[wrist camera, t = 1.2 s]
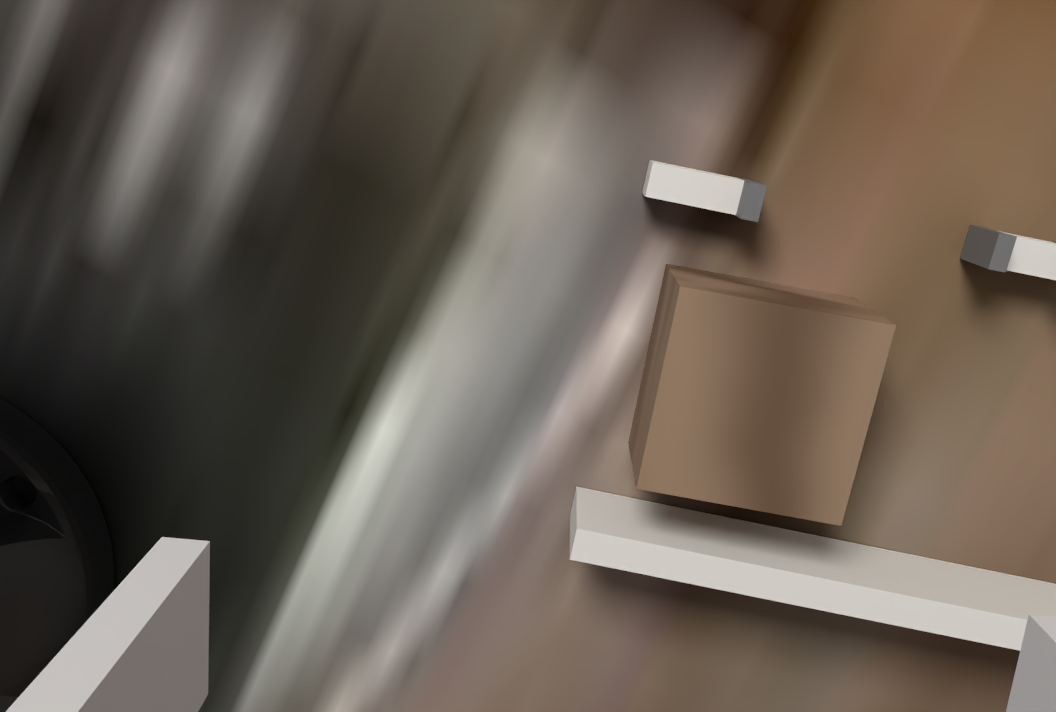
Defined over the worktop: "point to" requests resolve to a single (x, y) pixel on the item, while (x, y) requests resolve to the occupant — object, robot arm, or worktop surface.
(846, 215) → the worktop surface
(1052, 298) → the worktop surface
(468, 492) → the worktop surface
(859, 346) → the block
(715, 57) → the worktop surface
